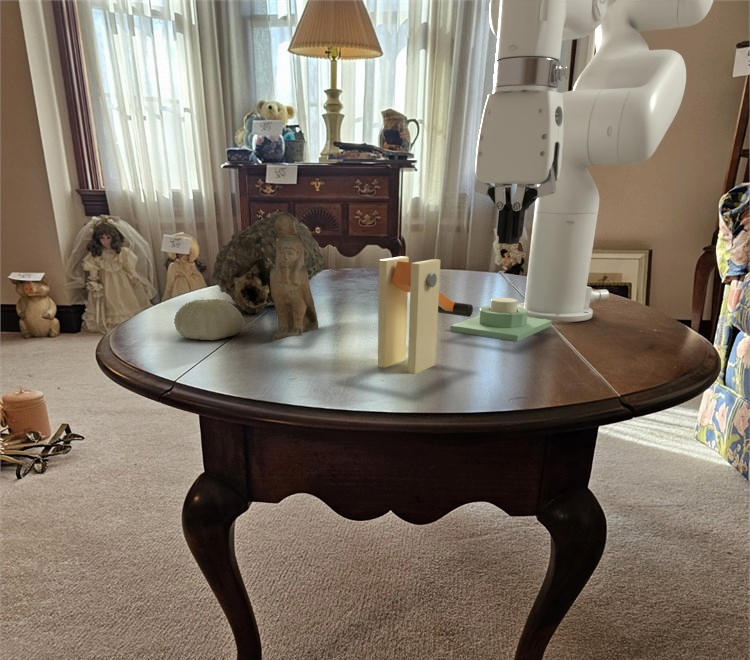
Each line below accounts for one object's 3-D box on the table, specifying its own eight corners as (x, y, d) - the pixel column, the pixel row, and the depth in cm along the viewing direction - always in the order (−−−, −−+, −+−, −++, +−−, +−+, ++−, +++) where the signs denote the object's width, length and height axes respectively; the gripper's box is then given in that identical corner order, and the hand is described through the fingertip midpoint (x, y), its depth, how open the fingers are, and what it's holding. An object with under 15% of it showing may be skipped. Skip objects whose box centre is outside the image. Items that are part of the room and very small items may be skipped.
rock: (281, 195, 112) (266, 179, 98) (337, 262, 116) (332, 256, 101) (206, 271, 116) (182, 266, 102) (263, 333, 119) (248, 337, 105)
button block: (487, 326, 100) (489, 299, 98) (550, 335, 95) (553, 307, 93) (449, 341, 91) (451, 312, 89) (516, 352, 86) (519, 321, 84)
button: (497, 309, 93) (498, 296, 93) (520, 312, 92) (521, 299, 91) (485, 313, 91) (486, 300, 90) (509, 316, 89) (511, 303, 88)
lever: (434, 317, 81) (439, 298, 81) (469, 322, 79) (475, 302, 78) (380, 282, 70) (386, 259, 70) (420, 286, 67) (426, 263, 67)
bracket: (401, 360, 81) (404, 251, 76) (465, 372, 77) (474, 257, 71) (343, 383, 73) (341, 261, 67) (411, 398, 68) (416, 269, 62)
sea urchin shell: (174, 315, 95) (210, 274, 93) (217, 352, 98) (252, 314, 96) (161, 328, 87) (200, 284, 85) (208, 369, 90) (246, 327, 88)
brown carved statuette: (304, 365, 88) (292, 227, 77) (265, 362, 89) (248, 225, 78) (324, 328, 97) (316, 199, 86) (288, 326, 98) (276, 198, 87)
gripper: (596, 80, 78) (573, 245, 86) (483, 87, 85) (471, 238, 93) (574, 72, 72) (552, 249, 80) (455, 80, 80) (445, 241, 88)
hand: (508, 243), depth 87 cm, fingers closed
